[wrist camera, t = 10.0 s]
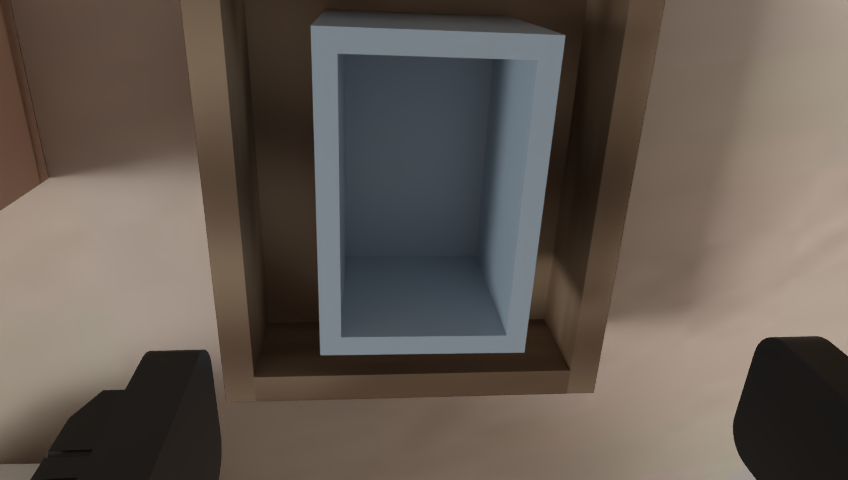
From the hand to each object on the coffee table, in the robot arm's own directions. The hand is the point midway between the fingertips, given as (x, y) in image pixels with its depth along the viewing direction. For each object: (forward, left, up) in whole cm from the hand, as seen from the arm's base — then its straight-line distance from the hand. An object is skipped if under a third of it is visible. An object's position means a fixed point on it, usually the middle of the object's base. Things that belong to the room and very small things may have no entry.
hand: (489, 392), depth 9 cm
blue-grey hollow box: (0, 0, -14) cm, 14 cm away
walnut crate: (0, 0, -15) cm, 15 cm away
